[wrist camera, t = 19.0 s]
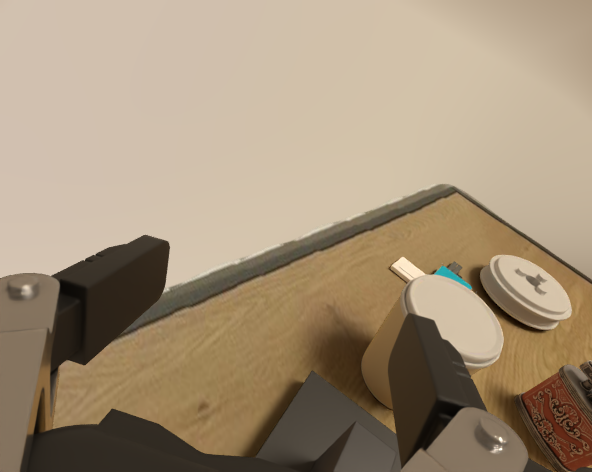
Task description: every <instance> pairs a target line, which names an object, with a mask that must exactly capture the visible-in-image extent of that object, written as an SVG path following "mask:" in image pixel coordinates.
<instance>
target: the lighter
mask: <svg viewBox="0 0 592 472" xmlns="http://www.w3.org/2000/svg"><path fill="white" fill-rule="evenodd" d="M580 369H581V370H582V371H583V372H582V371H581V370H580ZM580 369H578V368H577V367H575V366H573V365H569V364H567V365H565V366H563V367H561V368H560V369H559V372H557V373H556V374H554V375H553V376H551V377H550V378H548V379H546V380H545V381H543V382H542V383H540V384H538V385H537V386H535V387H534V388H532V389H531V390H529V391H527V392H523V393H521V394H519V395H518V396H516V397H515V404H516V406H517V408H518V410H519V413H520V415H521V417H522V419H523V421H524V423H525V424H526V426H527V428H528V430H529V432H530V434H531V435H532V437H533V438H534V440H535V441H536V443H537V444H538V446H539V447H540V449H541V450H542V452H543V453H544V455H545V456H546V457H547V459H548V460H549V461H550V463H551V464H552V465H553V467H554V468H555V469H556V470H557V471H558V472H575V471H576V470H577V469H578V468H580V467H587V466H590V465H592V361H587V362H585V363H584V364H582V365H580Z"/></svg>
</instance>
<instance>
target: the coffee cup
mask: <svg viewBox="0 0 592 472" xmlns="http://www.w3.org/2000/svg"><path fill="white" fill-rule="evenodd" d="M409 313H412V314H416V315H419V316H422V317H426V318H429V319H433V320H434V321H435V323H436V325H437V327H438V330H439V332H440V334H441V337H442V339H445V340H448V341H449V342H450V343H451V344H452V345H453V346H454V347H455V348H456V349H457V351H458V352H459V353H460V354H461V356H462V359H463V361H464V363H465V365H466V368H467V369H468V371H469V373H470V376H472V375H473V374H475V373H476V372H478V371H479V370H481V369H483V368H486V367H488V366H490V365H491V364H493V363H494V362H495V361H496V360H497V359H498V358H499V356H500V354H501V350H502V347H503V341H504V338H503V332H502V328H501V326H500V323H499V321H498V320H497V318H496V316H495V315H494V313H493V312H492V310H491V309H490V308H489V307H488V305H487V304H486V303H485V302H484V301H483V300H482V299H481V298H480V297H479V296H477V295H476V294H475V293H474V292H473V291H471V290H470V289H468V288H467V287H465V286H464V285H462V284H460V283H459V282H457V281H454V280H452V279H450V278H447V277H444V276H440V275H423V276H420V277H418V278H415V279H412V280H411V281H409V282H408V283H407V284H406V285H405V287H404V289H403V290H402V293H401V296H400V297H399V299H398V300H397V302H396V303H395V305H394V306H393V308H392V309H391V311H390V313H389V314H388V316H387V317H386V319H385V320H384V322H383V324H382V325H381V327H380V328H379V330H378V332H377V333H376V335H375V336H374V338H373V340H372V341H371V343H370V344H369V346H368V348H367V350H366V351H365V353H364V355H363V358H362V362H361V370H362V375H363V379H364V381H365V383H366V385H367V387H368V389H369V390H370V392H371V393H372V394H373V395H374V397H375V398H376V399H377V400H378V401H380V402H381V403H382V404H383V405H385V406H387V407H388V408H390V409H392V410H393V406H392V399H391V392H390V385H389V378H388V362H389V358H390V354H391V351H392V349H393V346H394V344H395V342H396V339H397V337H398V334H399V332H400V329H401V327H402V324H403V322H404V320H405V317H406V316H407V314H409Z"/></svg>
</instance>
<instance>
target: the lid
mask: <svg viewBox="0 0 592 472" xmlns="http://www.w3.org/2000/svg"><path fill="white" fill-rule="evenodd" d="M480 279H481V282H482V285H483V287H484V289H485V290H486V292H487V293H488V295H489V296H490V297H491V298H492V300H493V301H494V302H495V303H496V304H497V305H498V306H499V307H500V308H502V309H503V310H504V311H505V312H506V313H508V314H509V315H510V316H512V317H513V318H515V319H517V320H518V321H520V322H522V323H524V324H526V325H528V326H531V327H533V328H537V329H541V330H551V329H553V328H555V327H556V326H557V325H558V324H559V321H562V320H565V319H567V318H569V317H570V315H571V312H572V308H571V304H570V301H569V298H568V295H567V294H566V292H565V291H564V289H563V288H562V287H561V285H560V284H559V283H558V282H557V281H556V280H555V279H554V278H553V277H552V276H550V275H549V274H548V273H547V272H545V271H544V270H543V269H541V268H540V267H538V266H537V265H535V264H533V263H531V262H529V261H527V260H525V259H523V258H520V257H516V256H511V255H497V256H495V257H493V258H492V259H491V260H490V263H489V265H487V266H485V267H484V268H483V269H482V270H481V272H480Z"/></svg>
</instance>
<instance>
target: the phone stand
mask: <svg viewBox="0 0 592 472" xmlns="http://www.w3.org/2000/svg"><path fill="white" fill-rule="evenodd" d="M457 265H458V264H457V263H456V262H453V263H452V264H451V265H450V266H449V267H448V268H446V267H445V266H441V267H440V268H439V270H438V271H437V272H436V273H435V274H434V275H440V276H444V277H447V278H450V279H452V280H454V281H457V282H459V283H460V284H462V285H464V286H465V287H467V288H468V289H470V290H471V289H472V287H471V286H470V285H469V284H468V283H467V282H465V281H464V280H463V279H462V277H461V276H459V275H458V272H459V271H460V270H461V269H462V267H461V266H460V265H458V266H457ZM456 266H457V267H456ZM454 268H455V269H454ZM390 269H391V270H392V271H394V272H395V273H396V274H397V275H399V276H400V277H401V278H402V279H404V280H405V281H406V282H407V283H408V282H409V281H411V280H412V279H415V278H418V277H420V276H423V275H426V274H425V273H423V272H422V271H421V270H419V269H418V268H417V267H415V266H414V265H413V264H412V263H410V262H409V261H408V260H406V259H405V258H404V257H402V258H400V259H399V260H398V261H397V262H395V263H394V264H393V265H392V266H391V267H390ZM476 293H477V292H476ZM476 293H475V294H476Z"/></svg>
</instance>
